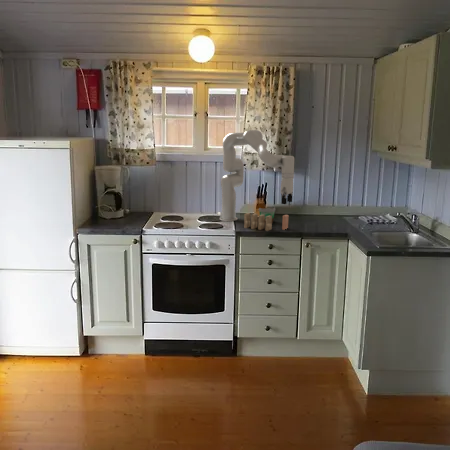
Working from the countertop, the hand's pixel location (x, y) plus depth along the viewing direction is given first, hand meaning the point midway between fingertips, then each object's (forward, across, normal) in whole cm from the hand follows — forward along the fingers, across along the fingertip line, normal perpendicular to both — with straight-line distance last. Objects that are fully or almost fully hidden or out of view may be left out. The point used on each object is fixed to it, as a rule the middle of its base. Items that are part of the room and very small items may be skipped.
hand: (286, 202), depth 297 cm
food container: (+17, -12, -18) cm, 27 cm away
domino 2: (+17, +8, -19) cm, 26 cm away
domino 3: (+17, +8, -14) cm, 23 cm away
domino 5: (+17, 0, -1) cm, 17 cm away
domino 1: (+17, +8, -24) cm, 30 cm away
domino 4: (+17, +8, -9) cm, 21 cm away
